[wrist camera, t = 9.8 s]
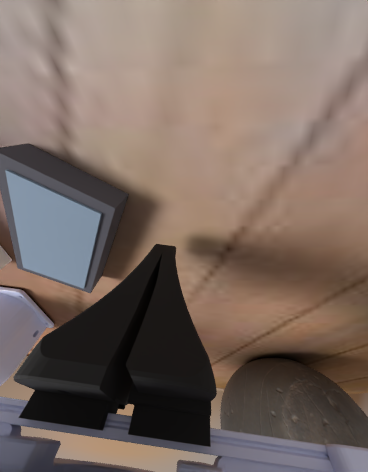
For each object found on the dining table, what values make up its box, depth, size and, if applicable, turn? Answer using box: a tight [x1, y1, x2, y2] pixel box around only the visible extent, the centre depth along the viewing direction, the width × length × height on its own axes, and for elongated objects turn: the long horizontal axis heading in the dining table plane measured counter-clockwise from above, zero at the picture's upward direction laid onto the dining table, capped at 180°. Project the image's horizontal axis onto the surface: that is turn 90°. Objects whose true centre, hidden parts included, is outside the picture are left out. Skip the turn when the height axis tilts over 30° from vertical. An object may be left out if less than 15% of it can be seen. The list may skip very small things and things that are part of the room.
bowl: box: [220, 358, 368, 449], centre depth 22 cm, size 18×18×13 cm
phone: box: [0, 144, 129, 293], centre depth 12 cm, size 10×6×3 cm, turn 152°
